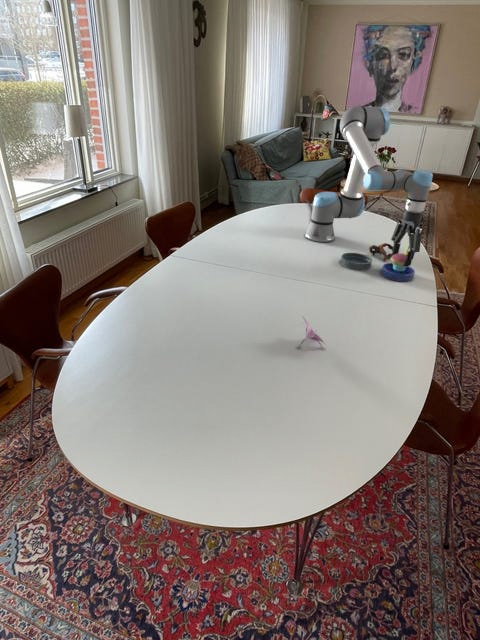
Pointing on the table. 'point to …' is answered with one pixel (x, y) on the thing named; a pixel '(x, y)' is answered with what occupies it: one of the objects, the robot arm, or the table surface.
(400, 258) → the cupcake
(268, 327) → the table surface
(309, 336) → the lily
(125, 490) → the table surface
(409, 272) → the blue dish
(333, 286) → the table surface
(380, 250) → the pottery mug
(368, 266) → the slate dish
